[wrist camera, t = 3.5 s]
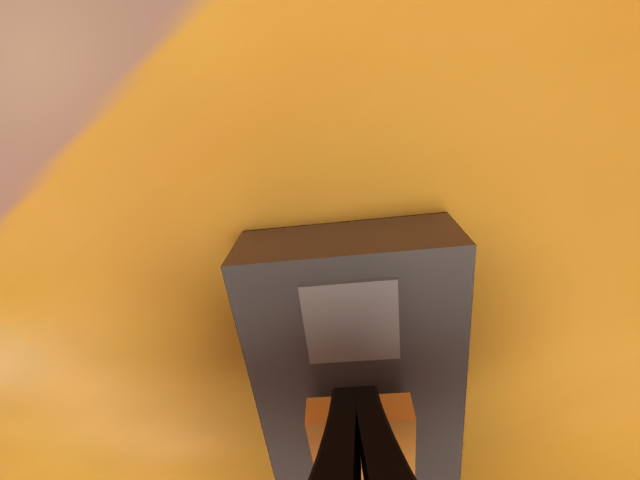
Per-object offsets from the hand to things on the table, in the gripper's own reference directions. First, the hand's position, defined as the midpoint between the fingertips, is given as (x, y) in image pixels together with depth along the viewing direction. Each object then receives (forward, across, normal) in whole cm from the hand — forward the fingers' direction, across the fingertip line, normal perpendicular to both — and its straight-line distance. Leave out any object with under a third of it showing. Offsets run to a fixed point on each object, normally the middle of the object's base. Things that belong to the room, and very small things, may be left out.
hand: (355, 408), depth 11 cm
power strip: (+4, 0, +6) cm, 7 cm away
